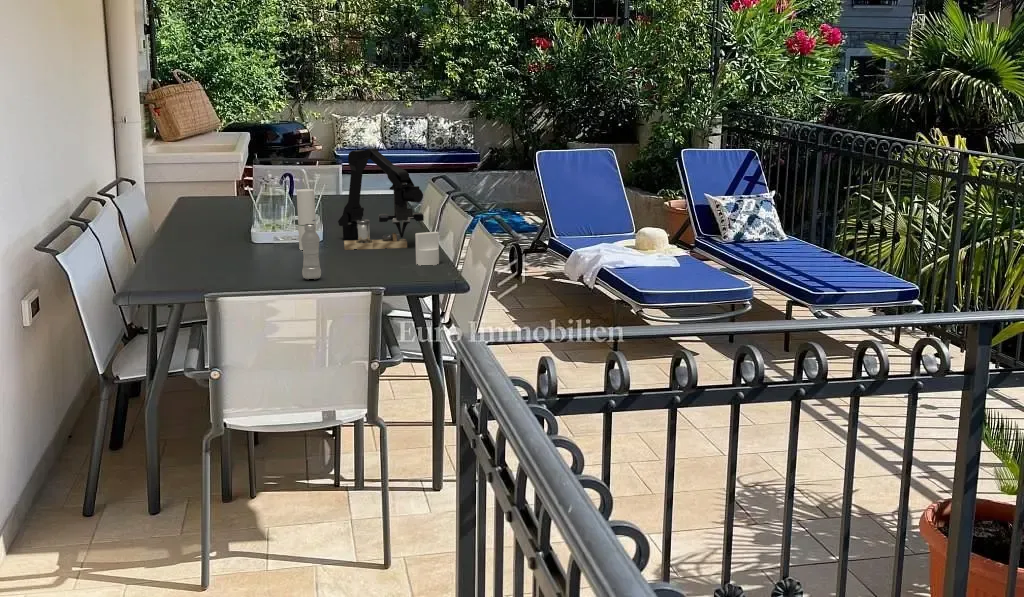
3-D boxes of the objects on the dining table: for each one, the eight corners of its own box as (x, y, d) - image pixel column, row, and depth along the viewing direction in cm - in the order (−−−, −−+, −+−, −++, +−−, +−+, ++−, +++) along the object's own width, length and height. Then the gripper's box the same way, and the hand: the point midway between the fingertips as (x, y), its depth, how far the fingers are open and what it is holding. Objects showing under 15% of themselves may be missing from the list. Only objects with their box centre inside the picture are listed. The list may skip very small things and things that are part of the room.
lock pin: (382, 241, 427) (382, 235, 426) (382, 240, 429) (382, 234, 429) (399, 240, 428) (399, 234, 428) (399, 239, 431) (398, 233, 430)
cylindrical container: (320, 249, 424) (317, 189, 418) (310, 252, 417) (307, 191, 412) (306, 247, 427) (303, 188, 421) (295, 250, 420) (292, 190, 415)
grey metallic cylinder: (358, 248, 424) (357, 221, 422) (357, 246, 430) (356, 219, 427) (371, 248, 425) (370, 221, 423) (370, 246, 431) (369, 219, 428)
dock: (344, 249, 422) (344, 236, 421) (344, 246, 430) (343, 233, 428) (407, 247, 427) (406, 234, 425) (405, 244, 434) (405, 231, 433)
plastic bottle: (303, 277, 368) (300, 223, 363) (322, 277, 368) (320, 223, 364) (301, 281, 362) (298, 226, 357) (320, 281, 362) (318, 225, 357)
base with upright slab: (421, 266, 388) (420, 235, 385) (412, 262, 396) (411, 232, 393) (442, 264, 392) (442, 233, 389) (433, 260, 400) (433, 230, 397)
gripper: (379, 204, 416) (380, 241, 420) (424, 202, 420) (425, 240, 423) (377, 200, 427) (379, 237, 431) (422, 199, 430) (422, 235, 434)
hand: (401, 237), depth 429 cm, fingers closed
